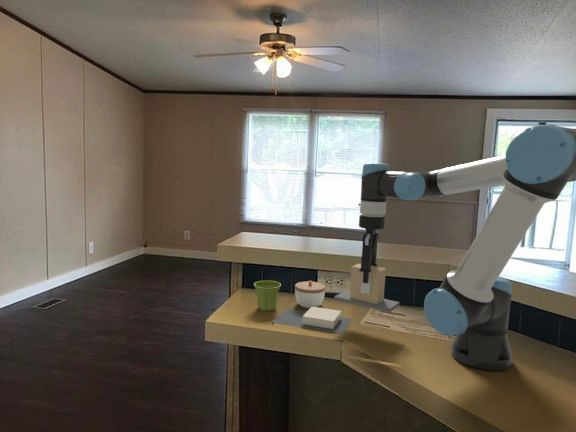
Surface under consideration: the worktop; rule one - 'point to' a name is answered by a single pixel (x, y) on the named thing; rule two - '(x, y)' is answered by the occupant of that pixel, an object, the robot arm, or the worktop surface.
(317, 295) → the lidded jar
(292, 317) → the mat
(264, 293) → the plant pot
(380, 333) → the worktop surface
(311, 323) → the tile
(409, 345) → the worktop surface
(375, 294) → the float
